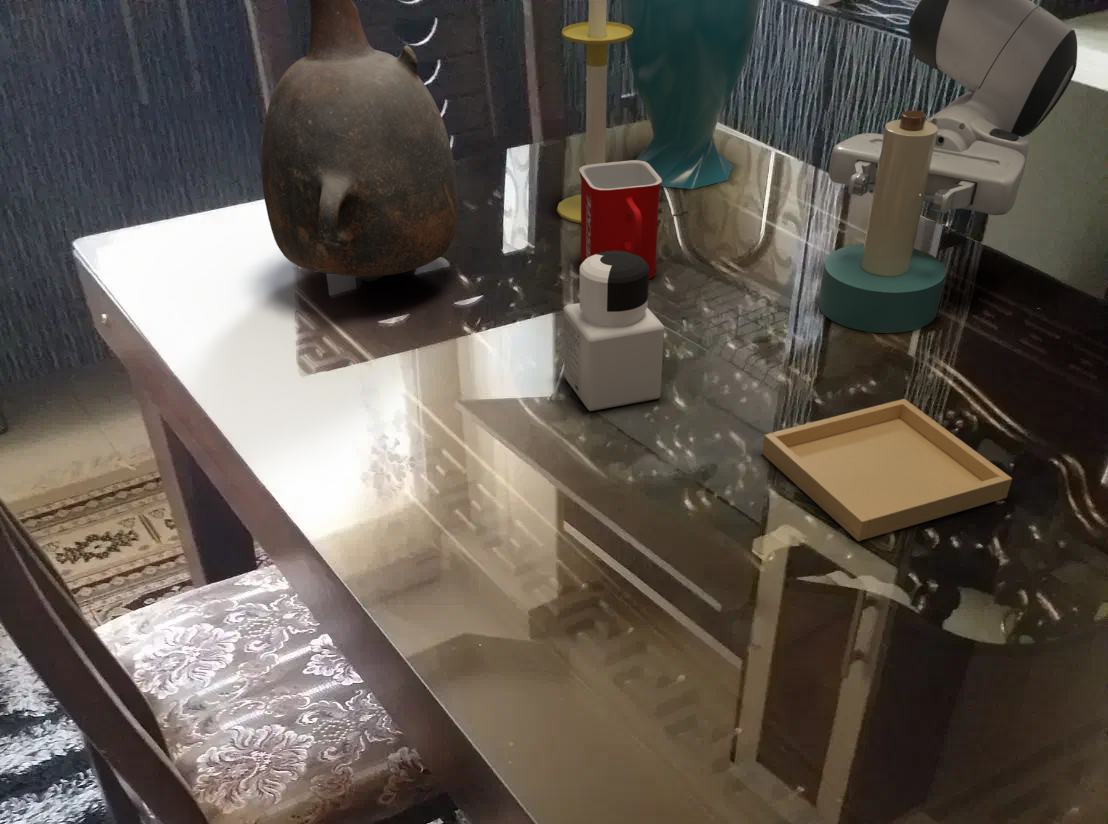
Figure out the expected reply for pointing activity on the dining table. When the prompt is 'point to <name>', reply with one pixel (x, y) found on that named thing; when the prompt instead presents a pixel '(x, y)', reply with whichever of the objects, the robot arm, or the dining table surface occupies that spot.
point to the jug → (356, 157)
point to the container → (613, 334)
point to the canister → (898, 194)
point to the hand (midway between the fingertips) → (896, 195)
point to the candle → (593, 87)
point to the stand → (880, 293)
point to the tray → (884, 468)
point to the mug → (620, 209)
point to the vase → (687, 79)
